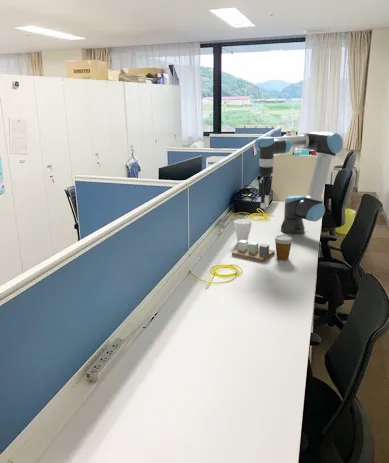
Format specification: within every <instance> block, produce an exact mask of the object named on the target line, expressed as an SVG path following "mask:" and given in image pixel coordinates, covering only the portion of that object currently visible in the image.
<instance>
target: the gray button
mask: <svg viewBox="0 0 389 463" xmlns="http://www.w3.org/2000/svg"><path fill="white" fill-rule="evenodd" d="M258 247H259V254H260V255H264V256H266V255H268V254H269V249H270V245H269V244H265V243H261V244H260V245H258Z"/></svg>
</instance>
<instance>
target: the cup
mask: <svg viewBox="0 0 389 463" xmlns="http://www.w3.org/2000/svg"><path fill="white" fill-rule="evenodd" d="M233 222H234V223H233V225H234V231H235V235H236V242H237V244H238V242H239V241H240V240H246V241H248V242H249V235H250V232H251V228H252V223H253V222H252V220H251V219H246V218H238V219H235V220H233Z"/></svg>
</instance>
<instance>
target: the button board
mask: <svg viewBox="0 0 389 463" xmlns="http://www.w3.org/2000/svg"><path fill="white" fill-rule="evenodd" d="M275 252H276V249H275V250H273V249H270V248H269V254H268V255H266V256H264V255H260V254H259V246H258V252H257V253H250V252H249V244H248V249H247V250H245V251H241V250H238V248H236V249H235V250H233V251H232V252H231V256H232V257H237V258H242V259H246V260H249V261H255V262H258V263H265V262H266V261H267V260H268V259H270V258H271V257H272V256H275Z"/></svg>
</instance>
